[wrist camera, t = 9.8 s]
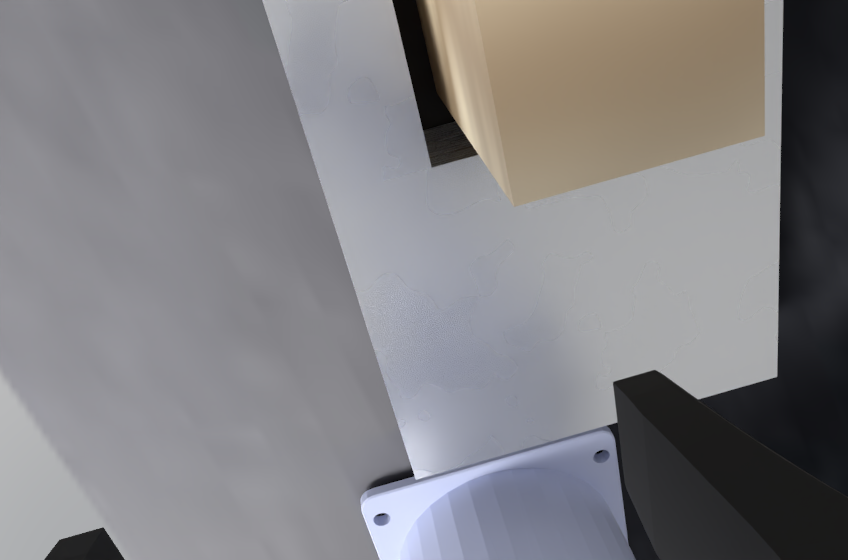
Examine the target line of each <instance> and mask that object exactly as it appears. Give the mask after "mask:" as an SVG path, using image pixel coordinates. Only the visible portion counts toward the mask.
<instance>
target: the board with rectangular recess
mask: <svg viewBox="0 0 848 560" xmlns="http://www.w3.org/2000/svg"><path fill="white" fill-rule="evenodd" d="M262 1H263V4H264V7H265V10H266V13H267V16H268V19H269V22H270V26H271V29H272V32H273V35H274V38H275V41H276V44H277V47H278V51H279V54H280V57H281V60H282V63H283V66H284V69H285V72H286V76H287V79H288V82H289V85H290V88H291V91H292V94H293V97H294V101H295V104H296V107H297V110H298V113H299V116H300V119H301V122H302V126H303V129H304V132H305V135H306V138H307V141H308V144H309V147H310V151H311V154H312V157H313V160H314V163H315V166H316V169H317V172H318V176H319V179H320V182H321V185H322V188H323V191H324V194H325V197H326V201H327V204H328V207H329V210H330V213H331V216H332V219H333V222H334V226H335V229H336V232H337V235H338V238H339V241H340V244H341V247H342V251H343V254H344V257H345V260H346V263H347V266H348V269H349V273H350V276H351V279H352V282H353V285H354V288H355V291H356V294H357V298H358V301H359V304H360V307H361V310H362V313H363V316H364V319H365V323H366V326H367V329H368V332H369V335H370V338H371V341H372V344H373V348H374V351H375V354H376V357H377V360H378V363H379V366H380V369H381V373H382V376H383V379H384V382H385V385H386V388H387V391H388V394H389V398H390V401H391V404H392V407H393V410H394V413H395V416H396V419H397V423H398V426H399V429H400V432H401V435H402V438H403V441H404V444H405V448H406V451H407V454H408V457H409V460H410V463H411V466H412V469H413V473H414V476H415V479H416V480H417V479H421V478H424V477H428V476H431V475H435V474H438V473H442V472H445V471H449V470H452V469H456V468H459V467H463V466H467V465H470V464H474V463H477V462H481V461H484V460H488V459H491V458H495V457H498V456H502V455H505V454H509V453H512V452H516V451H519V450H523V449H526V448H530V447H533V446H537V445H540V444H544V443H547V442H551V441H554V440H558V439H561V438H565V437H568V436H572V435H575V434H579V433H582V432H586V431H589V430H593V429H596V428H600V427H603V426H607V425H610V424H614V423H617V413H616V405H615V396H614V388H613V382H614V381H617V380H621V379H624V378H628V377H631V376H635V375H638V374H642V373H645V372H649V371H652V370H657V371H658V372H660V373H662V374H663V375H665V376H666V377H668V378H669V379H670V380H672V381H673V382H674V383H676V384H677V385H679V386H680V387H681V388H683V389H684V390H685V391H687V392H688V393H690V394H691V395H692V396H694V397H695V398H697V399H701V398H705V397H708V396H712V395H715V394H719V393H722V392H726V391H729V390H733V389H736V388H740V387H743V386H747V385H750V384H754V383H757V382H761V381H764V380H768V379H771V378H775V377H777V357H778V295H779V234H780V173H781V111H782V50H783V0H764V23H765V136H762V137H759V138H755V139H752V140H748V141H745V142H741V143H738V144H734V145H731V146H727V147H724V148H720V149H717V150H713V151H710V152H706V153H703V154H699V155H696V156H692V157H688V158H685V159H681V160H678V161H674V162H671V163H667V164H664V165H660V166H657V167H653V168H650V169H646V170H643V171H639V172H636V173H632V174H629V175H625V176H622V177H618V178H614V179H611V180H607V181H604V182H600V183H597V184H593V185H590V186H586V187H583V188H579V189H576V190H572V191H569V192H565V193H562V194H558V195H555V196H551V197H548V198H544V199H540V200H537V201H533V202H530V203H526V204H523V205H519V206H516V207H514V206H513V205H512V203H511V202H510V200H509V199H508V197H507V196H506V194H505V193H504V191H503V190H502V189H501V187H500V186H499V184H498V183H497V181H496V180H495V178H494V177H493V175H492V174H491V172H490V171H489V169H488V168H487V166H486V165H485V163H484V162H483V161H482V159H481V158H480V156H479V155H478V153H477V152H476V150H475V149H474V147H473V146H472V144H471V143H470V141H469V140H468V138H467V137H466V135H465V134H464V132H463V131H462V130H461V128H460V127H459V125H458V124H457V122H456V121H455V122H452V123H448V124H444V125H441V126H437V127H433V128H430V129H426V130H423V129H422V125H421V120H420V116H419V112H418V108H417V103H416V99H415V95H414V91H413V86H412V82H411V78H410V74H409V69H408V65H407V61H406V57H405V53H404V48H403V44H402V40H401V36H400V31H399V27H398V23H397V19H396V14H395V10H394V6H393V2H392V0H262Z"/></svg>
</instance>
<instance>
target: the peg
mask: <svg viewBox="0 0 848 560" xmlns="http://www.w3.org/2000/svg"><path fill="white" fill-rule="evenodd" d="M416 4H417V9H418V13H419V17H420V22H421V26H422V30H423V35H424V39H425V44H426V48H427V52H428V57H429V61H430V65H431V70H432V74H433V79H434V83H435V87H436V92H437V94H438V96H439V97H440V99H441V100H442V102H443V103H444V104H445V106H446V107H447V109H448V110H449V112H450V113H451V115H452V116H453V118H454V119H455V121H456V122H457V124H458V125H459V127H460V128H461V130H462V131H463V132H464V134H465V135H466V137H467V138H468V140H469V141H470V143H471V144H472V146H473V147H474V149H475V150H476V152H477V153H478V155H479V156H480V158H481V159H482V161H483V162H484V163H485V165H486V166H487V168H488V169H489V171H490V172H491V174H492V175H493V177H494V178H495V180H496V181H497V183H498V184H499V186H500V187H501V189H502V190H503V191H504V193H505V194H506V196H507V197H508V199H509V200H510V202H511V203H512V205H513V206H514V207H516V206H519V205H523V204H526V203H530V202H533V201H537V200H540V199H544V198H548V197H551V196H555V195H558V194H562V193H565V192H569V191H572V190H576V189H579V188H583V187H586V186H590V185H593V184H597V183H600V182H604V181H607V180H611V179H614V178H618V177H622V176H625V175H629V174H632V173H636V172H639V171H643V170H646V169H650V168H653V167H657V166H660V165H664V164H667V163H671V162H674V161H678V160H681V159H685V158H688V157H692V156H696V155H699V154H703V153H706V152H710V151H713V150H717V149H720V148H724V147H727V146H731V145H734V144H738V143H741V142H745V141H748V140H752V139H755V138H759V137H762V136H765V23H764V0H416Z"/></svg>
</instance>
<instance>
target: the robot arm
mask: <svg viewBox="0 0 848 560" xmlns="http://www.w3.org/2000/svg"><path fill="white" fill-rule="evenodd" d="M613 388H614V396H615V405H616V413H617V422H618V430H619V439H620V447H621V456H622V464H623V472H624V481H625V487H626V489H627V491H628V493H629V495H630V498H631V500H632V502H633V504H634V507H635V509H636V511H637V513H638V515H639V518H640V520H641V522H642V524H643V526H644V529H645V531H646V533H647V535H648V537H649V539H650V541H651V543H652V546H653V548H654V550H655V552H656V554H657V555H658V557H659V559H660V560H848V497H847V496H846V495H844V494H842V493H840V492H839V491H837V490H835V489H834V488H832V487H830V486H828V485H827V484H825V483H823V482H822V481H820V480H819V479H817V478H815V477H814V476H812V475H810V474H809V473H807V472H805V471H804V470H802V469H801V468H799V467H798V466H796V465H794V464H793V463H791V462H790V461H788V460H787V459H785V458H784V457H782V456H780V455H779V454H777V453H776V452H774V451H773V450H771V449H770V448H768V447H766V446H765V445H763V444H762V443H760V442H759V441H757V440H756V439H754V438H753V437H751V436H750V435H748V434H747V433H745V432H744V431H742V430H741V429H739V428H738V427H736V426H735V425H734V424H732V423H731V422H729V421H728V420H726V419H725V418H723V417H722V416H721V415H719V414H718V413H716V412H715V411H713V410H712V409H711V408H709V407H708V406H706V405H705V404H704V403H702V402H701V401H699V400H698V399H697V398H695V397H694V396H692V395H691V394H690V393H688V392H687V391H685V390H684V389H683V388H681V387H680V386H679V385H677V384H676V383H674V382H673V381H672V380H670V379H669V378H668V377H666V376H665V375H663V374H662V373H660V372H658V371H657V370H652V371H649V372H645V373H642V374H638V375H635V376H631V377H628V378H624V379H621V380H617V381H614V382H613ZM600 450H603V451H602V452H601V453H599V454H595V453H596V452H598V451H600ZM360 501H361V510H362V514H363V516H364V519H365V522H366V524H367V527H368V530H369V532H370V535H371V537H372V540H373V543H374V545H375V548H376V550H377V553H378V556H379V558H380V560H636V559H635V557H634V555H633V553H632V551H631V549H630V547H629V544H628V536H627V529H626V521H625V513H624V505H623V498H622V490H621V482H620V474H619V467H618V459H617V451H616V443H615V438H614V436H613V434H612V432H611V430H610V428H608V427H607V426H603V427H600V428H596V429H593V430H589V431H586V432H582V433H579V434H575V435H572V436H568V437H565V438H561V439H558V440H554V441H551V442H547V443H544V444H540V445H537V446H533V447H530V448H526V449H523V450H519V451H516V452H512V453H509V454H505V455H502V456H498V457H495V458H491V459H488V460H484V461H481V462H477V463H474V464H470V465H467V466H463V467H459V468H456V469H452V470H449V471H445V472H442V473H438V474H435V475H431V476H428V477H424V478H421V479H417V480H416V479H415V476H414V477H410V478H407V479H403V480H400V481H396V482H393V483H389V484H386V485H382V486H379V487H375V488H372V489H370V490H367V491H366V492H365V493H364V494H363V495H362V497H361V499H360ZM380 513H386V514H385V515H383V516H376V515H378V514H380ZM45 560H125V559H124V558H123V557H122V555H121V553H120V552H119V550H118V549H117V547H116V546H115V544H114V543H113V541H112V540H111V538H110V537H109V535H108V534H107V532H106V531H105V529H104V528H100V529H96V530H93V531H89V532H86V533H82V534H79V535H75V536H72V537H68V538H65V539H61V540H59V541H58V543H57V544H56V545H55V547H54V548H53V549H52V550H51V552H50V553H49V554H48V556H47V557H46V558H45Z"/></svg>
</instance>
